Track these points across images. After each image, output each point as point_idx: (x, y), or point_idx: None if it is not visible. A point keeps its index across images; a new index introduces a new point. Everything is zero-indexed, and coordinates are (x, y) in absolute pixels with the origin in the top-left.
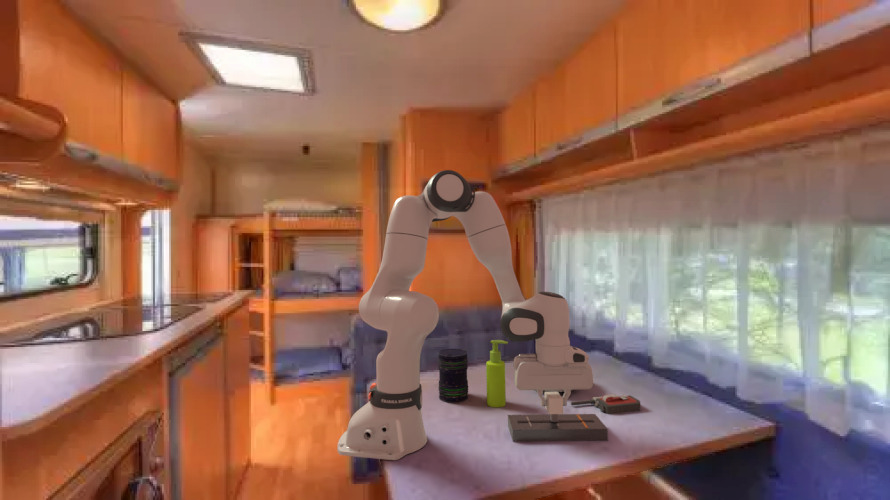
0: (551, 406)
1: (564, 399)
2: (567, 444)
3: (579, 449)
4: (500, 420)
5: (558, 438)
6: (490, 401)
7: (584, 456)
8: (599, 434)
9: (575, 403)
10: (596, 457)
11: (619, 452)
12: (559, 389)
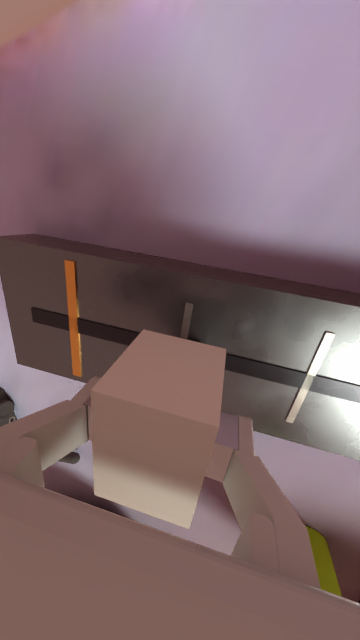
0: (205, 373)
1: (83, 405)
2: (185, 231)
3: (155, 178)
4: (349, 461)
5: (207, 268)
6: (329, 559)
7: (158, 104)
8: (43, 241)
9: (66, 455)
10: (110, 87)
11: (14, 129)
12: (62, 496)
